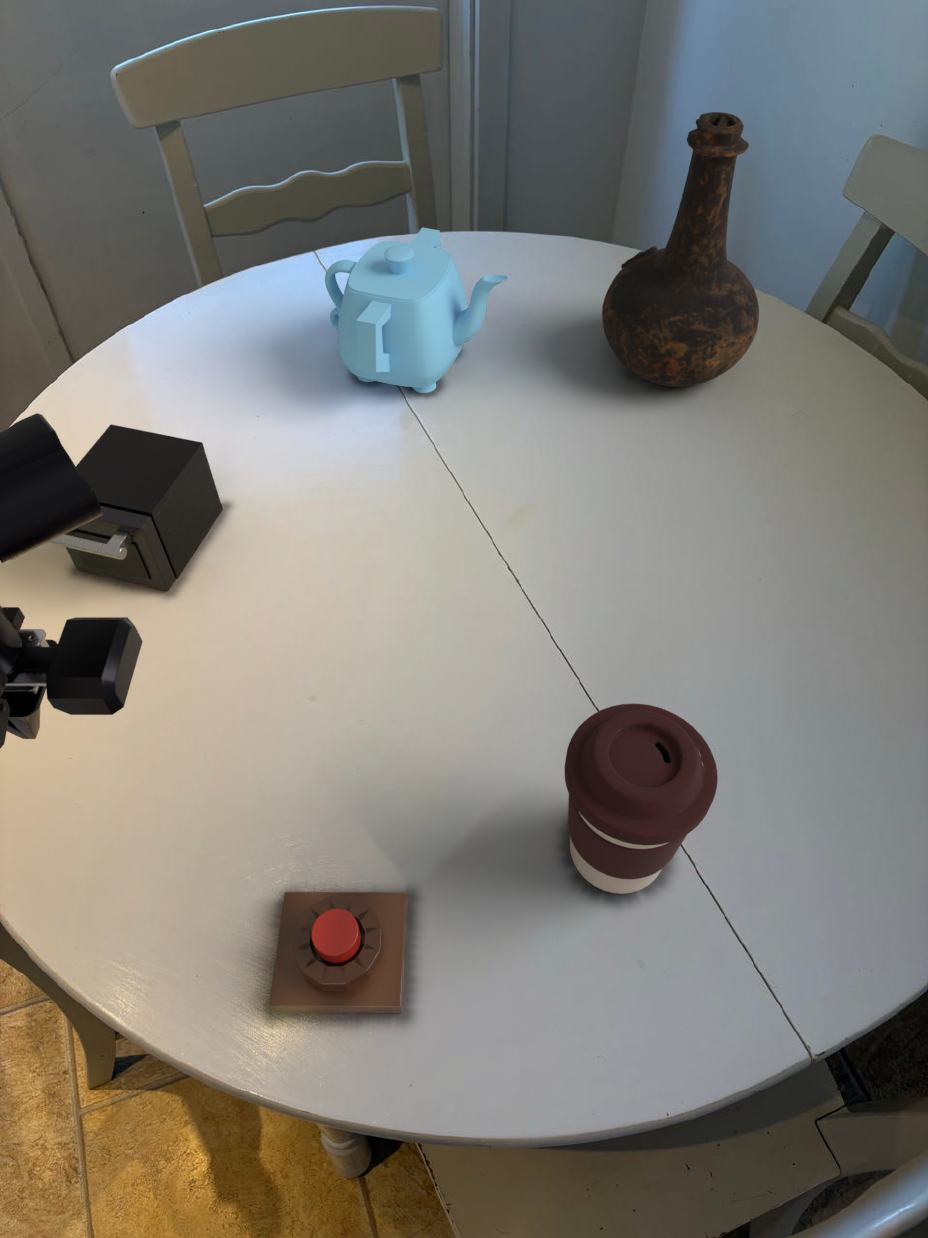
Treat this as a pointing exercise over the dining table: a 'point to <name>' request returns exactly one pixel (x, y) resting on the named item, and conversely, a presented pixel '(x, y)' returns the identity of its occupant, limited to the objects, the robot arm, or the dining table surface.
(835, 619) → the dining table surface
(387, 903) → the control block
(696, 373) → the glass bottle
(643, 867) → the coffee cup
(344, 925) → the button
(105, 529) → the oven door
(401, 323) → the teapot
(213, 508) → the oven
